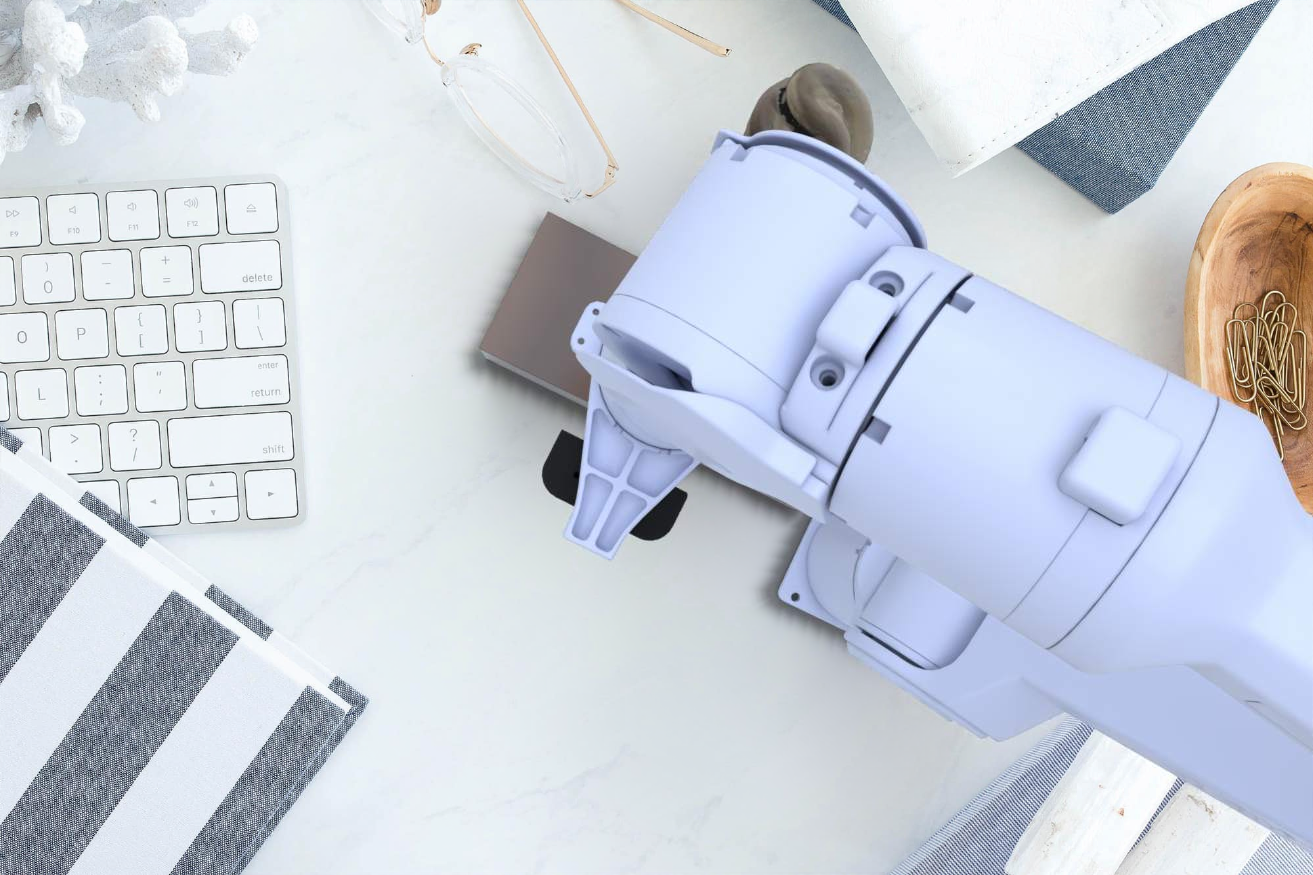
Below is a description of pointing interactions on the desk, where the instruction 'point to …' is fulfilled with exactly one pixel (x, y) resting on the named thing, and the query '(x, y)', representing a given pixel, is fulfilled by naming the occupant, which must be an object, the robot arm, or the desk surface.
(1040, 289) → the desk surface
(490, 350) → the steps
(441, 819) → the desk surface
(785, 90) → the brown carved figurine
